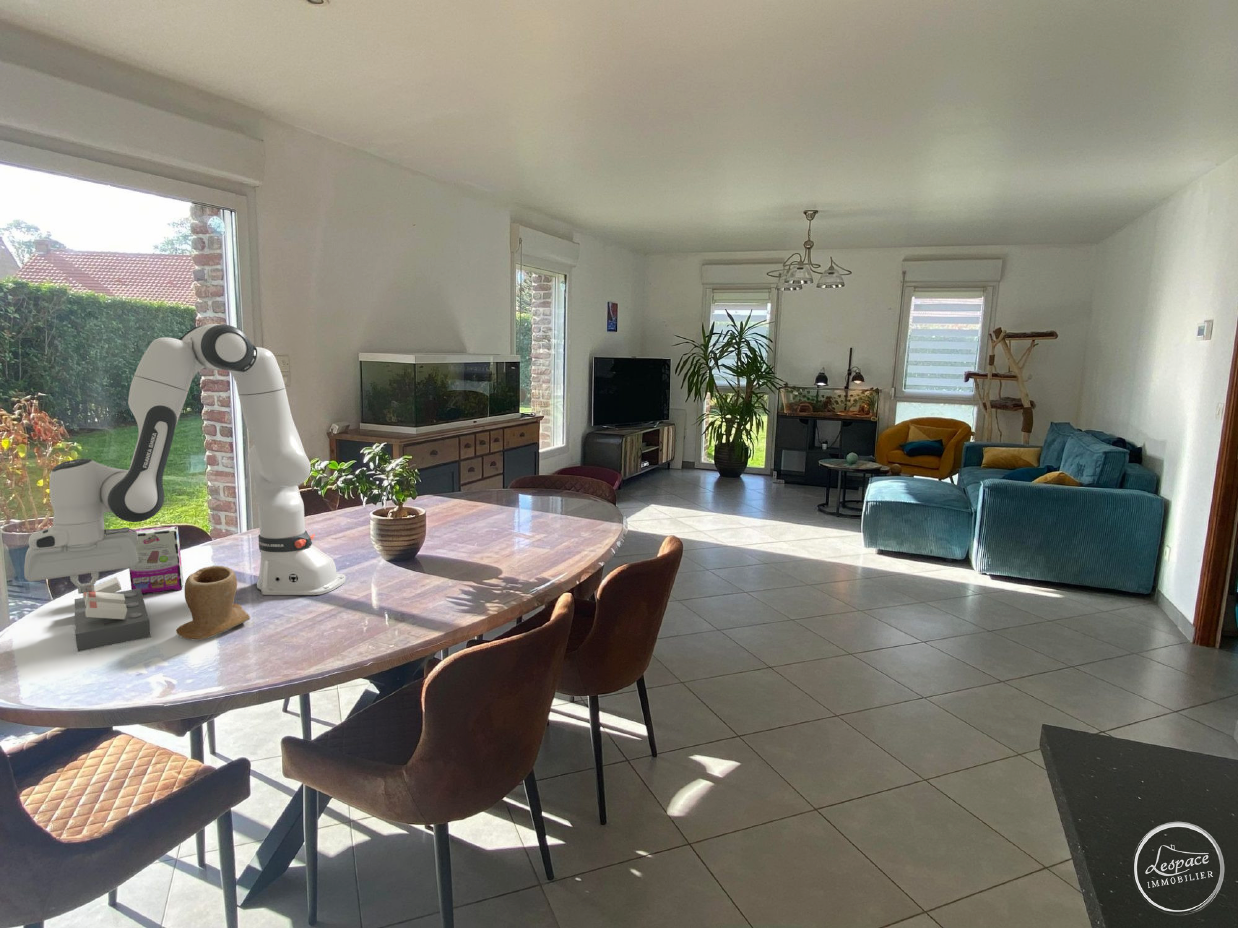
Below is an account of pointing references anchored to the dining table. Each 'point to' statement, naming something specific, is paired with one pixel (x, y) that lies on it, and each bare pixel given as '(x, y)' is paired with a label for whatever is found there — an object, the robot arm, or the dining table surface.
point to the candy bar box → (157, 561)
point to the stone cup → (211, 603)
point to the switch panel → (112, 624)
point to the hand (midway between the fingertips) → (86, 591)
